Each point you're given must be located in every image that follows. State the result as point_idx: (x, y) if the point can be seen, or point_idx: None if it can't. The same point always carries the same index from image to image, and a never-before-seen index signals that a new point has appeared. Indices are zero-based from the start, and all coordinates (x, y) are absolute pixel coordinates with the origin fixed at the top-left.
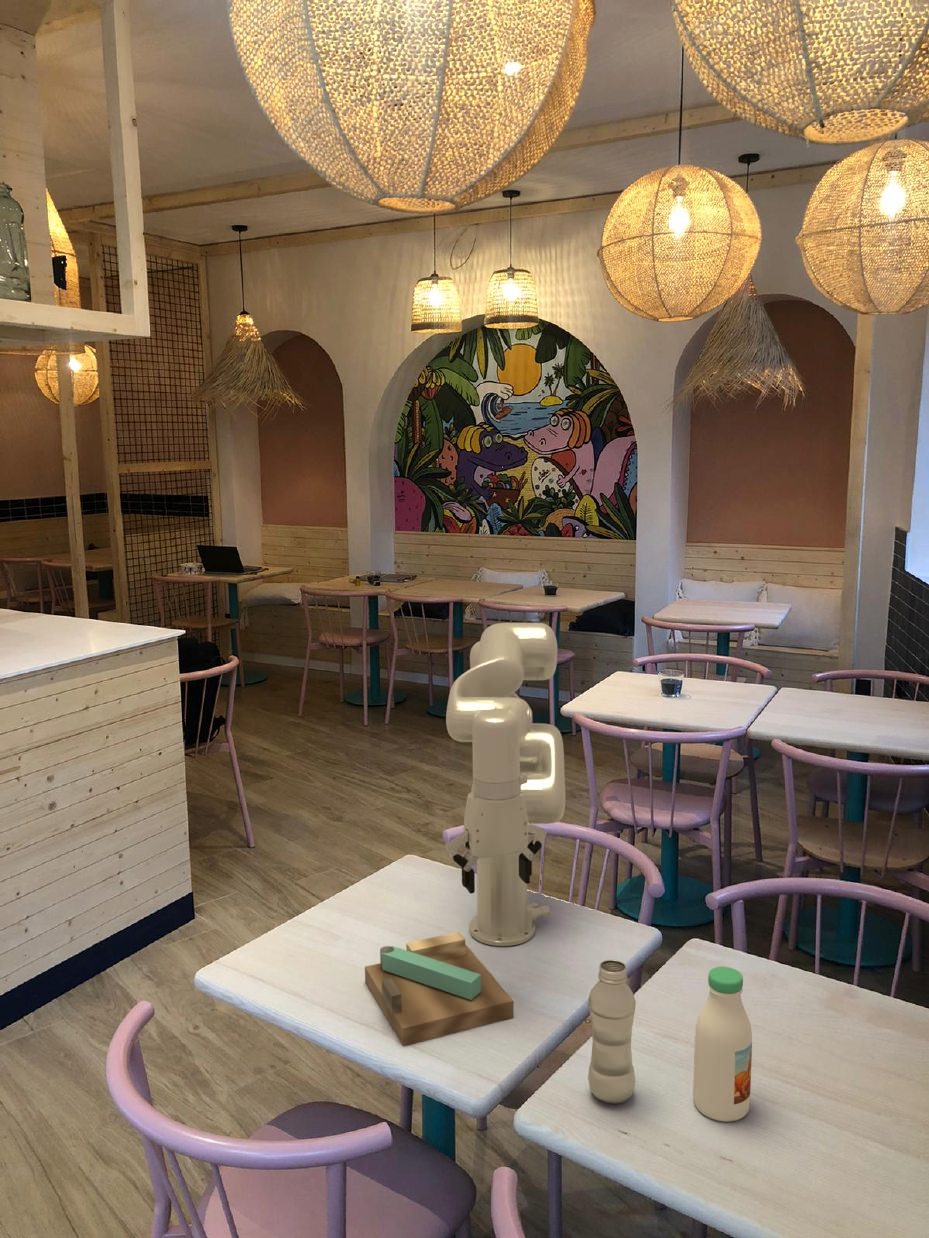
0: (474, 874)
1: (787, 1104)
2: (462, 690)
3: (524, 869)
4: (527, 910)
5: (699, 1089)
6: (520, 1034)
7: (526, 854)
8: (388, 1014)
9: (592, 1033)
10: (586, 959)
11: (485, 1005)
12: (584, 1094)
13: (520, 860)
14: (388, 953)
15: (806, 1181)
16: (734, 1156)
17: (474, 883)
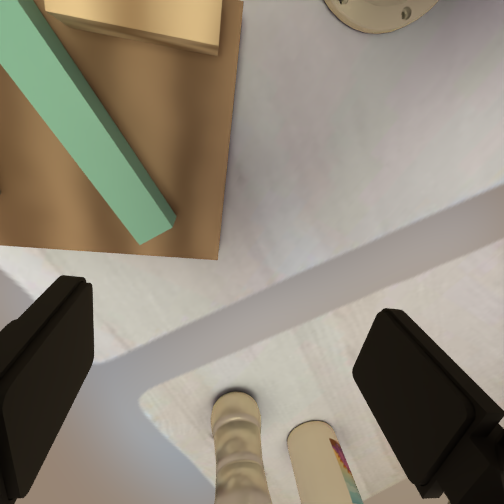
0: (37, 473)
1: (353, 447)
2: None
3: (389, 424)
4: None
5: (292, 461)
6: (204, 284)
7: None
8: None
9: (217, 476)
10: (419, 163)
11: (167, 250)
12: (210, 393)
13: (434, 411)
14: None
15: (294, 495)
16: (271, 472)
17: (69, 407)
